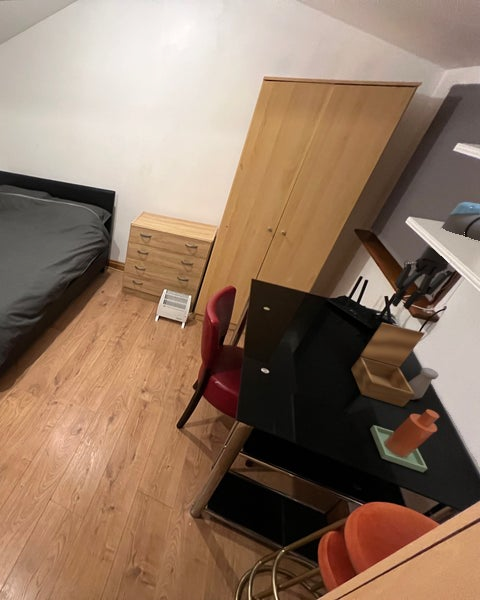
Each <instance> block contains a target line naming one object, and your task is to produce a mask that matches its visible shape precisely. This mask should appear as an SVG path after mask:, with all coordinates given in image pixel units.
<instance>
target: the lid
mask: <svg viewBox="0 0 480 600" xmlns="http://www.w3.org/2000/svg"><path fill="white" fill-rule="evenodd" d="M424 336H425V332H424V331H419V330H416V329H415V330H414V329H411V328H407V327H404V326H403V327H402V326H399V325H395V324H390V323H386V322H381V324H380V325H379V326H378V328H377V330H376V331H375V332H374V334H373V335H372V337H371V338H370V340H369V341H368V343H367V345H366V346H365V348H364V349H363V351H362V352H361V353H360V357H363V358H367V359H370V360H374V361H378V362H382V363H385V364H389V365H393V366H396V367H399V368H400V367H401V366H402V365H403V363H404V362H405V361H406V360H407V358H408V357H409V356H410V355H411V353H412V352H413V350H414V349H415V348H416V346H417V345H418V344H419V342H420V341H421V340H422V338H423V337H424Z"/></svg>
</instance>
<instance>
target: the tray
mask: <svg viewBox="0 0 480 600" xmlns="http://www.w3.org/2000/svg"><path fill="white" fill-rule="evenodd" d="M369 429H370V433H371V435H372V437H373V440H374V443H375V445H376V448H377V450H378V452H379V455H380V457H381V459H383V460H384V461H388V462H392V463H394V464H398V465H401V466H403V467H406V468H409V469H411V470H413V471H414V470H415V471H418V472H420V473H424V472H426V471H427V470H428V467H427V465H426V462H425V461H424V459H423V457H422V454H421V453H420V450H419V448H417V449H416V450H415V451H413V452H412V453H411V454H410V455H409V456H408V457H400V456H397V455H395V454H394V453H392V452H391V451H390V450H388V449H387V447H386V446H385V444H384V441H385V440H386V439H387V438H388V437H389V436H390V435H391V434H392V433H393V432H394V431H395V430H390V429H387V428H384V427H382V426H378V425H374V424H373V425H372V427H370V428H369Z"/></svg>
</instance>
